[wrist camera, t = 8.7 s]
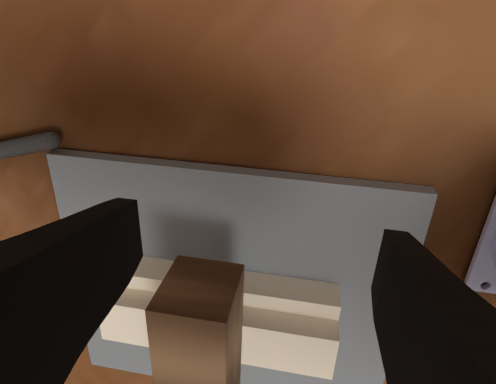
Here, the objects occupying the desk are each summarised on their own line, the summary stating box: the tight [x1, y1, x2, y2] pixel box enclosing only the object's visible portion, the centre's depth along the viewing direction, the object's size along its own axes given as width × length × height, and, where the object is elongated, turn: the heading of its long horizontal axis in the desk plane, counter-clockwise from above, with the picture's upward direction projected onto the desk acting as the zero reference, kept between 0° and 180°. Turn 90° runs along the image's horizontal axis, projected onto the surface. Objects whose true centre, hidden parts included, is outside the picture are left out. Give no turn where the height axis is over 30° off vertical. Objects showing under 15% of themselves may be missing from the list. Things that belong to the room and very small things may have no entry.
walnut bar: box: [145, 255, 245, 384], centre depth 20 cm, size 12×4×4 cm, turn 178°
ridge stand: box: [46, 149, 438, 384], centre depth 23 cm, size 22×18×4 cm
